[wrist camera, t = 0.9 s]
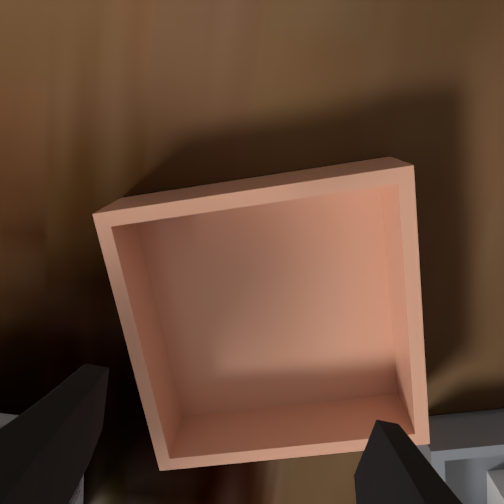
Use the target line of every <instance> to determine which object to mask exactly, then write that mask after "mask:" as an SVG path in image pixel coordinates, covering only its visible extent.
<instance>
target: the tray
mask: <svg viewBox="0 0 504 504" xmlns="http://www.w3.org/2000/svg"><path fill="white" fill-rule="evenodd" d="M428 419H429V437H430V444H425V445H417V448H418V449H419V450H420V451H421V453H422V454H423V455H424V457H425V458H426V459H427V460H428V462H429V463H430V464H431V465H432V467H433V468H434V469H435V471H436V472H437V473H438V474H439V476H440V477H441V478H442V479H443V481H444V482H445V483H446V484H447V485H448V487H449V488H450V489H451V490H452V492H453V493H454V494H455V495H456V496H457V498H458V499H459V500H460V501H461V502H462V503H463V504H487V471H493V470H503V469H504V408H501V409H491V410H482V411H472V412H463V413H453V414H444V415H434V416H428Z"/></svg>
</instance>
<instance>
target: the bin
mask: <svg viewBox="0 0 504 504" xmlns="http://www.w3.org/2000/svg"><path fill="white" fill-rule="evenodd" d="M92 215H93V219H94V223H95V226H96V230H97V234H98V238H99V242H100V245H101V249H102V253H103V257H104V261H105V265H106V268H107V272H108V276H109V280H110V284H111V287H112V291H113V295H114V299H115V303H116V306H117V310H118V314H119V318H120V322H121V325H122V329H123V333H124V337H125V341H126V344H127V348H128V352H129V356H130V360H131V363H132V367H133V371H134V375H135V379H136V382H137V386H138V390H139V394H140V398H141V401H142V405H143V409H144V413H145V417H146V420H147V424H148V428H149V432H150V436H151V439H152V443H153V447H154V451H155V455H156V459H157V462H158V466H159V470H160V471H163V470H173V469H183V468H193V467H203V466H213V465H223V464H233V463H243V462H254V461H264V460H274V459H284V458H294V457H304V456H314V455H324V454H334V453H344V452H354V451H364V450H365V447H366V445H367V442H368V439H369V437H370V434H371V432H372V429H373V427H374V424H375V422H376V420H381V421H387V422H392V423H397V424H399V425H400V426H401V427H402V429H403V430H404V431H405V432H406V434H407V435H408V436H409V437H410V439H411V440H412V441H413V442H414V444H415V445H425V444H430V437H429V419H428V402H427V385H426V367H425V350H424V333H423V315H422V298H421V281H420V263H419V246H418V228H417V211H416V194H415V176H414V165H412V164H409V163H407V162H404V161H401V160H399V159H396V158H393V157H391V156H389V157H383V158H376V159H370V160H363V161H357V162H350V163H344V164H337V165H331V166H324V167H318V168H311V169H305V170H298V171H292V172H285V173H279V174H272V175H266V176H259V177H253V178H246V179H240V180H233V181H227V182H220V183H214V184H208V185H201V186H195V187H188V188H182V189H175V190H169V191H162V192H156V193H149V194H143V195H136V196H130V197H123V198H120V199H118V200H116V201H114V202H113V203H111V204H109V205H107V206H105V207H104V208H102V209H100V210H98V211H97V212H95V213H93V214H92Z"/></svg>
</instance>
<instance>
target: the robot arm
mask: <svg viewBox="0 0 504 504" xmlns="http://www.w3.org/2000/svg"><path fill="white" fill-rule="evenodd" d="M108 375H109V368H108V367H102V366H97V365H92V364H87V363H86V364H84V365H83V366H81V367H80V368H79V369H78V370H76V371H75V372H74V373H73V374H72V375H70V376H69V377H68V378H67V379H66V380H64V381H63V382H62V383H61V384H59V385H58V386H57V387H56V388H54V389H53V390H52V391H51V392H49V393H48V394H47V395H46V396H44V397H43V398H42V399H40V400H39V401H38V402H36V403H35V404H34V405H32V406H31V407H30V408H28V409H27V410H26V411H24V412H23V413H22V414H20V415H19V416H17V417H16V418H15V419H13V420H12V421H10V422H9V423H7V424H6V425H4V426H3V427H1V428H0V504H69V502H70V500H71V498H72V496H73V494H74V492H75V490H76V489H77V487H78V485H79V483H80V481H81V479H82V477H83V475H84V473H85V471H86V469H87V467H88V465H89V462H90V460H91V457H92V455H93V452H94V450H95V447H96V444H97V442H98V439H99V437H100V434H101V431H102V429H103V421H104V412H105V402H106V393H107V384H108ZM354 478H355V491H356V502H357V504H463V503H462V502H461V501H460V500H459V499H458V498H457V496H456V495H455V494H454V493H453V492H452V490H451V489H450V488H449V487H448V485H447V484H446V483H445V482H444V481H443V479H442V478H441V477H440V476H439V474H438V473H437V472H436V471H435V469H434V468H433V467H432V465H431V464H430V463H429V462H428V460H427V459H426V458H425V457H424V455H423V454H422V453H421V451H420V450H419V449H418V448H417V446H416V445H415V444H414V442H413V441H412V440H411V439H410V437H409V436H408V435H407V434H406V432H405V431H404V430H403V429H402V427H401V426H400V425H399V424H397V423H392V422H387V421H381V420H376V422H375V424H374V427H373V429H372V432H371V434H370V437H369V439H368V442H367V445H366V447H365V450H364V452H363V455H362V457H361V460H360V462H359V465H358V467H357V470H356V472H355V475H354Z"/></svg>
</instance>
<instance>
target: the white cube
mask: <svg viewBox="0 0 504 504" xmlns="http://www.w3.org/2000/svg"><path fill="white" fill-rule="evenodd" d="M487 504H504V469H503V470H493V471H487Z"/></svg>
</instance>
